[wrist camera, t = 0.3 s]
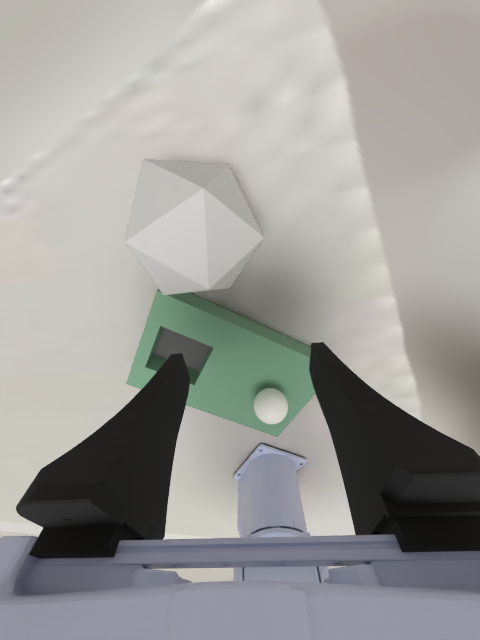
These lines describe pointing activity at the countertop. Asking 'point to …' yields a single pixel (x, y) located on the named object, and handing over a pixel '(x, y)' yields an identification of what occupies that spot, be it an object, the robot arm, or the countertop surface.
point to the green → (223, 359)
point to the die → (191, 226)
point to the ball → (270, 406)
